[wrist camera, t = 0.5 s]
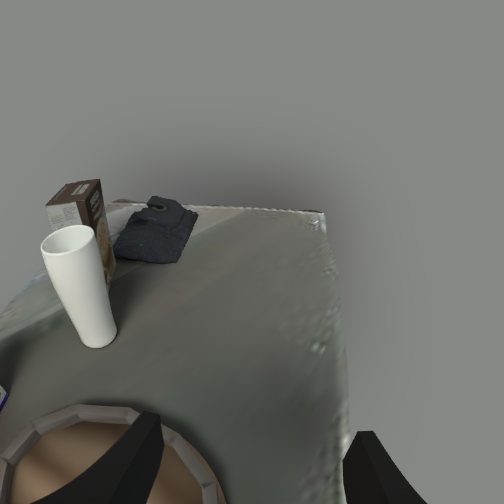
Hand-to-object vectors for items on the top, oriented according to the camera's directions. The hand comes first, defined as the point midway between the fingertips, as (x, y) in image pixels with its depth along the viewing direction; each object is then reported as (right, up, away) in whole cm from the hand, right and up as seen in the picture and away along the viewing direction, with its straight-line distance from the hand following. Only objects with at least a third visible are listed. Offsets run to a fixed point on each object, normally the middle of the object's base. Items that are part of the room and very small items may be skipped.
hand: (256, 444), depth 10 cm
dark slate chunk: (-20, +10, +53) cm, 58 cm away
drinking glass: (-21, -5, +29) cm, 36 cm away
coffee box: (-26, +2, +39) cm, 47 cm away
